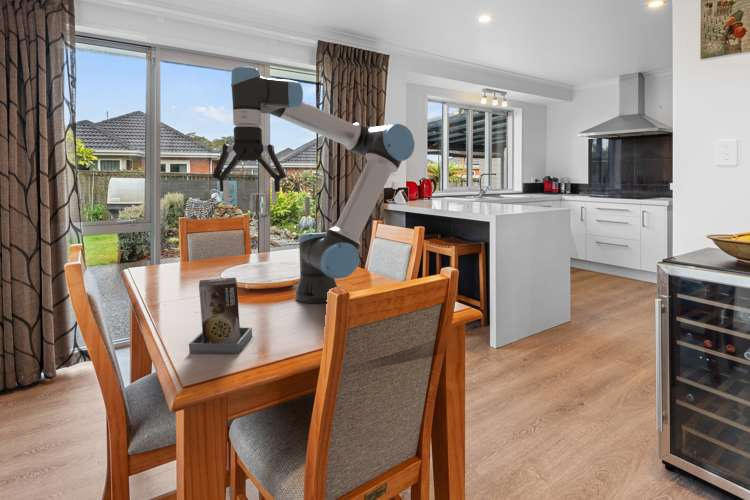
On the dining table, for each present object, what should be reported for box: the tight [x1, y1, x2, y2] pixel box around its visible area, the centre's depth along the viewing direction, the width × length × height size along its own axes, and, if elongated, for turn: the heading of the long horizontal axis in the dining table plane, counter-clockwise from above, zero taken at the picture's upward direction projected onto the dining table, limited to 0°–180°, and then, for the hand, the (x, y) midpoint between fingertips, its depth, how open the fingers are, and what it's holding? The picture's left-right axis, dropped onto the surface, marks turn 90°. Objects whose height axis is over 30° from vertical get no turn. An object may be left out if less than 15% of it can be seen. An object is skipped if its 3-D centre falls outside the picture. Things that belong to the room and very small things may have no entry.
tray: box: [188, 326, 253, 355], centre depth 118 cm, size 12×12×2 cm
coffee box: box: [198, 277, 241, 343], centre depth 116 cm, size 9×6×16 cm
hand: (250, 203), depth 131 cm, fingers open, 13 cm apart
